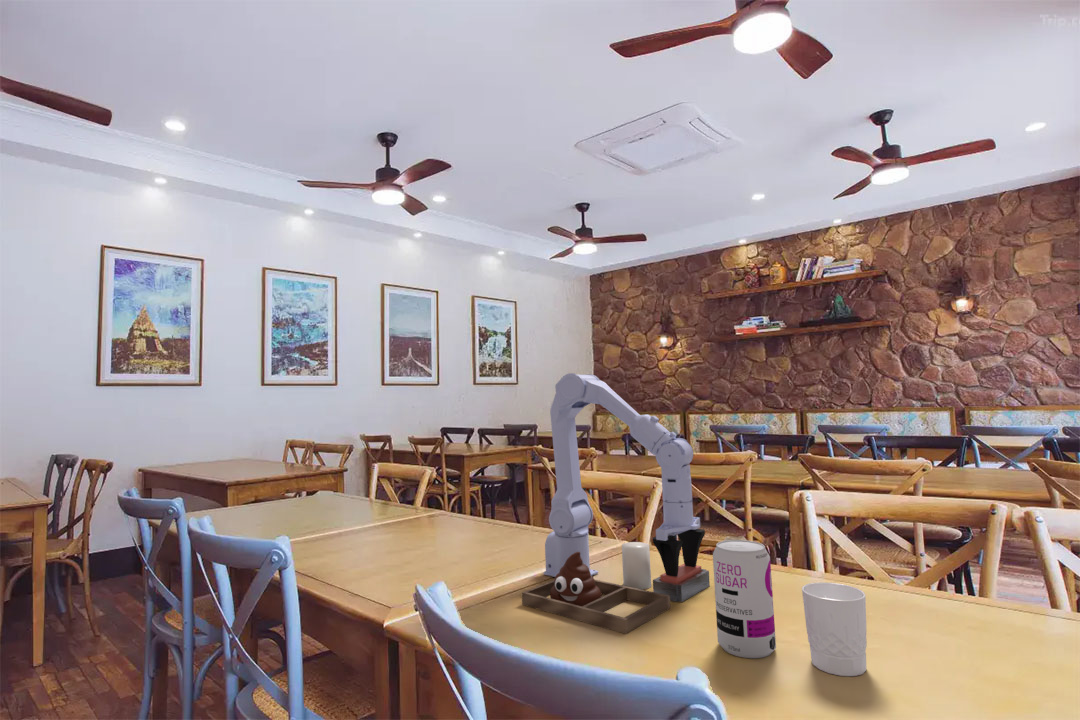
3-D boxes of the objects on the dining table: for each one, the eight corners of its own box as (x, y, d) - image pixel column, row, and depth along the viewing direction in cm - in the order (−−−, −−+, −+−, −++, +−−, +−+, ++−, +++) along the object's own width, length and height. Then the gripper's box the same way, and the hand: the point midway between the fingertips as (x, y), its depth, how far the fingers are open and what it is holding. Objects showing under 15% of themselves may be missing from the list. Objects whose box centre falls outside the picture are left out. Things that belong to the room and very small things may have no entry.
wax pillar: (618, 586, 116) (616, 546, 116) (633, 579, 120) (631, 540, 120) (641, 591, 112) (639, 550, 113) (656, 584, 116) (654, 544, 117)
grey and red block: (652, 596, 109) (651, 580, 109) (683, 580, 118) (682, 565, 118) (681, 602, 105) (680, 586, 105) (710, 585, 114) (709, 570, 114)
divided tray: (522, 604, 107) (521, 592, 107) (570, 584, 118) (569, 574, 118) (626, 633, 92) (625, 619, 92) (670, 608, 102) (669, 595, 102)
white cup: (795, 655, 82) (791, 584, 83) (847, 651, 83) (842, 580, 83) (827, 681, 74) (822, 602, 75) (884, 676, 75) (878, 598, 76)
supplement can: (774, 639, 87) (767, 540, 89) (778, 663, 80) (770, 553, 81) (719, 634, 90) (713, 538, 91) (717, 657, 82) (711, 550, 83)
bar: (660, 591, 109) (660, 575, 109) (685, 578, 116) (684, 563, 117) (678, 594, 107) (677, 578, 107) (702, 581, 114) (701, 566, 114)
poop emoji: (607, 597, 109) (605, 548, 110) (592, 612, 102) (590, 559, 102) (559, 592, 114) (558, 544, 114) (542, 606, 106) (540, 555, 107)
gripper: (678, 508, 105) (682, 583, 104) (712, 497, 116) (716, 565, 114) (644, 504, 109) (648, 577, 108) (681, 494, 120) (684, 560, 119)
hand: (681, 570), depth 112 cm, fingers open, 7 cm apart
